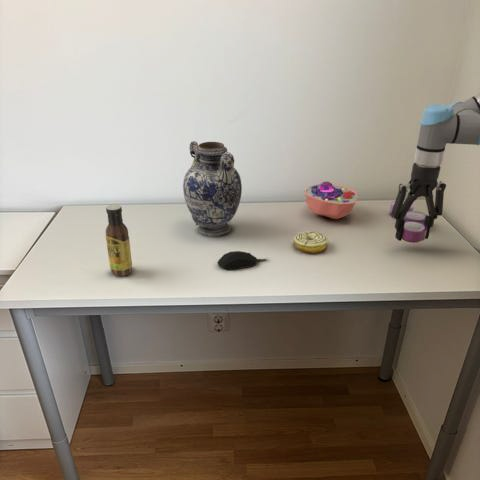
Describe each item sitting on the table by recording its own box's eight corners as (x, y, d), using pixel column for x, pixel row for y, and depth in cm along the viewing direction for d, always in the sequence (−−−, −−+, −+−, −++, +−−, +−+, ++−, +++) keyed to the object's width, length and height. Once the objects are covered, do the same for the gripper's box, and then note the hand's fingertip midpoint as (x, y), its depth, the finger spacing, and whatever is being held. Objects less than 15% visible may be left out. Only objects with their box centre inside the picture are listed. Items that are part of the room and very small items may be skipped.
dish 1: (405, 210, 186) (407, 199, 184) (415, 218, 180) (418, 207, 177) (385, 211, 185) (386, 200, 183) (394, 220, 178) (396, 209, 176)
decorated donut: (317, 237, 167) (318, 227, 164) (333, 251, 158) (334, 240, 156) (288, 242, 164) (288, 231, 162) (302, 256, 155) (303, 245, 153)
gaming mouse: (269, 265, 151) (269, 252, 149) (220, 271, 148) (220, 259, 145) (262, 255, 156) (263, 243, 154) (215, 262, 153) (215, 249, 150)
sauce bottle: (106, 272, 147) (95, 206, 136) (123, 264, 151) (114, 200, 140) (120, 279, 144) (110, 212, 133) (137, 271, 148) (129, 205, 136)
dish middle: (418, 221, 178) (420, 210, 176) (429, 230, 172) (432, 219, 169) (396, 222, 177) (398, 211, 175) (407, 232, 170) (409, 221, 168)
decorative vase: (172, 227, 173) (166, 142, 157) (215, 213, 183) (213, 132, 167) (212, 249, 160) (208, 158, 144) (255, 232, 170) (257, 146, 154)
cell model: (327, 230, 171) (330, 198, 165) (293, 210, 186) (295, 179, 179) (366, 220, 178) (371, 189, 172) (331, 202, 192) (334, 172, 186)
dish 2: (417, 232, 162) (419, 220, 159) (429, 243, 155) (432, 231, 153) (393, 234, 160) (395, 222, 158) (404, 245, 154) (407, 232, 152)
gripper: (454, 158, 149) (436, 230, 162) (386, 161, 146) (374, 235, 159) (468, 166, 143) (448, 240, 156) (398, 170, 140) (384, 245, 153)
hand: (411, 237), depth 158 cm, fingers closed on dish 2, 8 cm apart
